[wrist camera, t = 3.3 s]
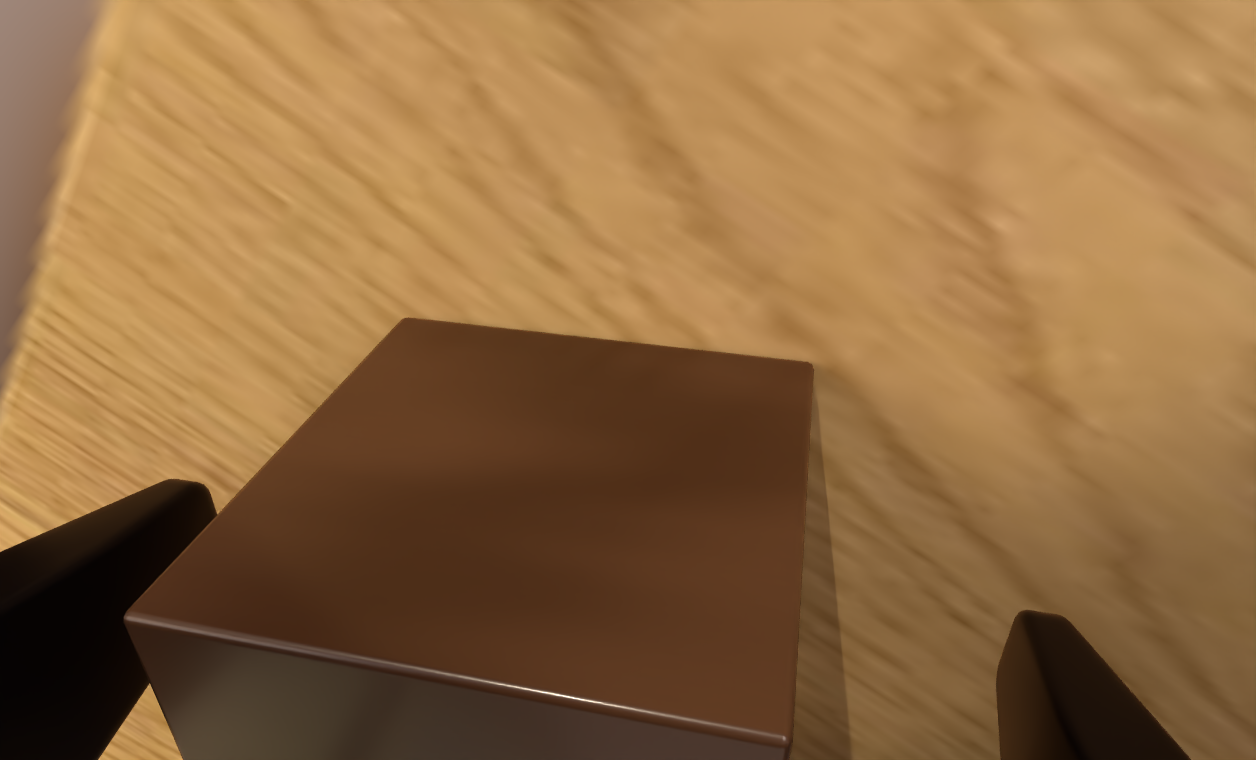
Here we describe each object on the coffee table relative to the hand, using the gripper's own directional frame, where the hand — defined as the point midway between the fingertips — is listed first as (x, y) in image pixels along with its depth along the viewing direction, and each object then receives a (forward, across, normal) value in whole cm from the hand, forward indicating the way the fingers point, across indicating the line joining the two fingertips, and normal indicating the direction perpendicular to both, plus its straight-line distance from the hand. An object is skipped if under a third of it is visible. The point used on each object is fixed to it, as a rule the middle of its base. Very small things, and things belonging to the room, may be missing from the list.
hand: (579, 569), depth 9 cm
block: (+1, 0, 0) cm, 1 cm away
